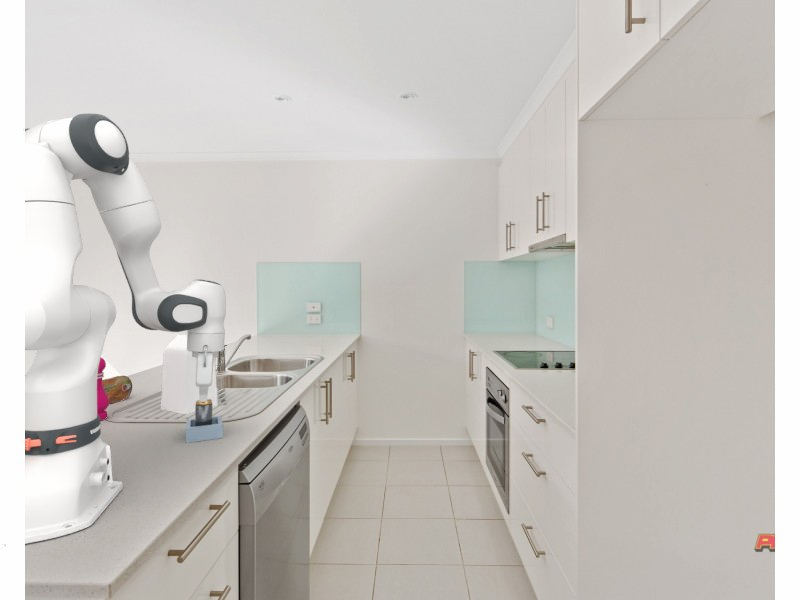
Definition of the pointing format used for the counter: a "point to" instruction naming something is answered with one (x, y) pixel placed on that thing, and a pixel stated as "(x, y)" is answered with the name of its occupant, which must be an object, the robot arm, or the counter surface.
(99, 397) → the pepper mill
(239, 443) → the counter surface
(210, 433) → the light blue square tray
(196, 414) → the cell
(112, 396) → the tin
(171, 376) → the milk
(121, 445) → the counter surface
